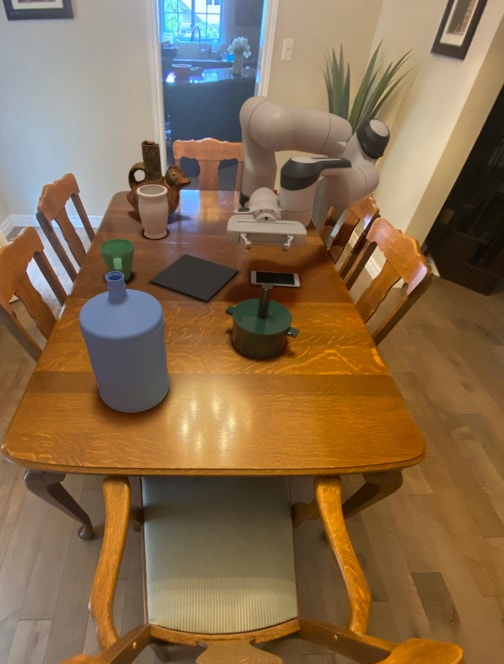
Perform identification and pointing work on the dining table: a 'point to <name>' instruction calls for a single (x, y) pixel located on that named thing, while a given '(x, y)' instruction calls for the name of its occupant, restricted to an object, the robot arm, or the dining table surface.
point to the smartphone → (275, 278)
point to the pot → (259, 341)
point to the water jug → (126, 346)
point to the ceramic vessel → (156, 177)
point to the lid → (262, 315)
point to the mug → (118, 256)
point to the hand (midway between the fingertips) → (267, 247)
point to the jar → (153, 210)
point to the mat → (195, 277)
